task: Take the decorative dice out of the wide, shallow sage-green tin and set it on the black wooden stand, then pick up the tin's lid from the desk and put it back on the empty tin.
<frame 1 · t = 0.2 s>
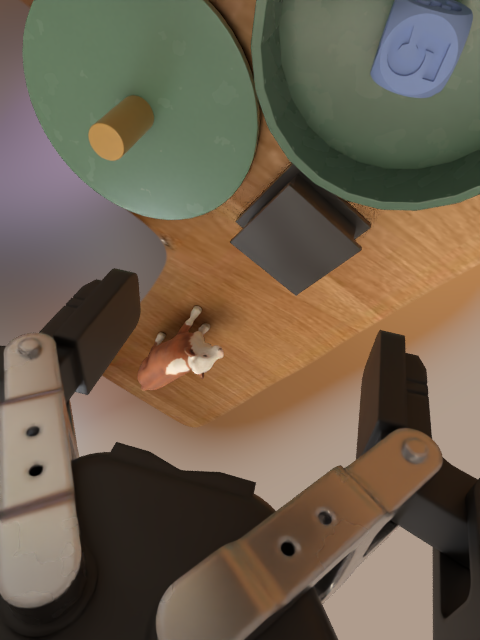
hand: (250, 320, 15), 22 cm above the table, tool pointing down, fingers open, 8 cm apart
stand: (301, 221, 37), on the table
decorative dice: (418, 34, 26), resting on tin
tin lid: (141, 110, 34), point 1 cm above the table
bull figurine: (193, 324, 51), on the table
tin: (418, 33, 26), on the table
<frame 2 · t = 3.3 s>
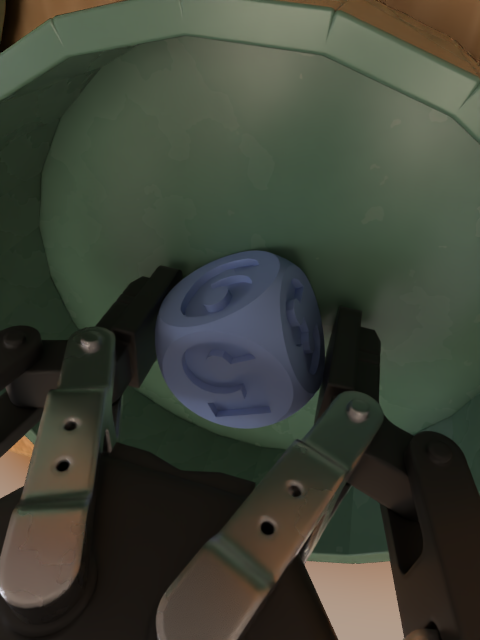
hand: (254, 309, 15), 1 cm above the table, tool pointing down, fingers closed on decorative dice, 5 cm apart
decorative dice: (260, 297, 16), resting on tin, touching gripper
tin: (260, 296, 16), on the table
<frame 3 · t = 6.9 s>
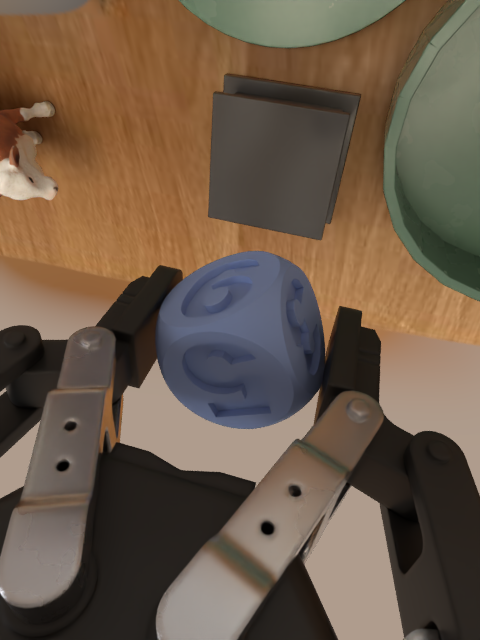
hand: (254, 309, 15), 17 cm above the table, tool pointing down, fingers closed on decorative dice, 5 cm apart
stand: (282, 152, 29), on the table
decorative dice: (260, 298, 16), point 16 cm above the table, touching gripper
bull figurine: (17, 118, 32), on the table
when the fingers open (4 cm above the table, at t = 10.3 s): decorative dice stays where it is, resting on stand.
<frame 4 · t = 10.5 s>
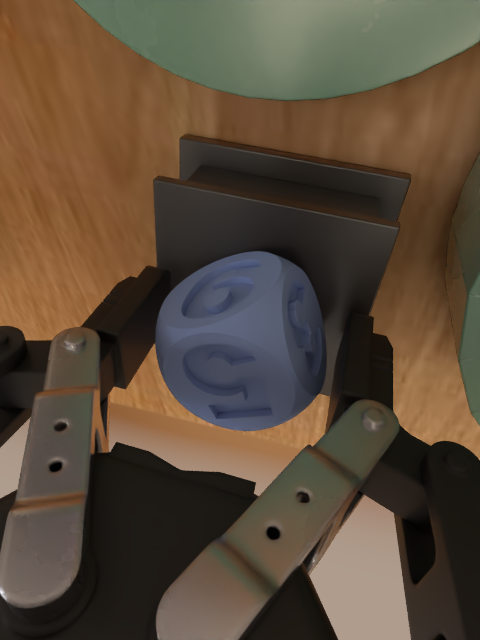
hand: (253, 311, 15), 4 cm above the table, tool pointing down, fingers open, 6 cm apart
stand: (277, 252, 18), on the table
decorative dice: (261, 298, 15), point 3 cm above the table, touching stand
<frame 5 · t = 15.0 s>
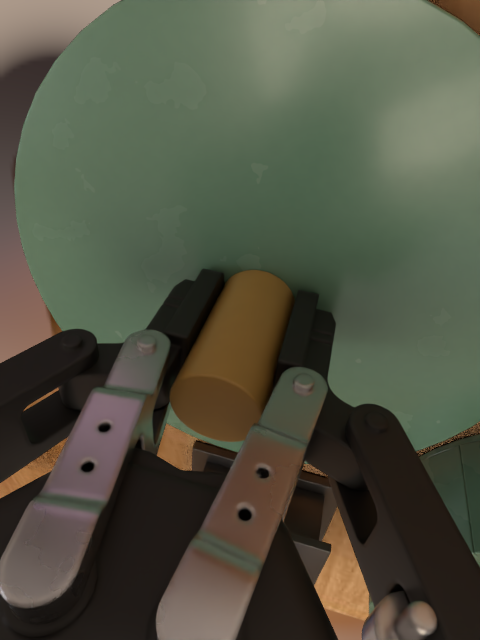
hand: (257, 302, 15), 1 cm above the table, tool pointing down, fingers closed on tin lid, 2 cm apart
stand: (259, 499, 26), on the table
tin lid: (262, 291, 16), point 1 cm above the table, touching gripper
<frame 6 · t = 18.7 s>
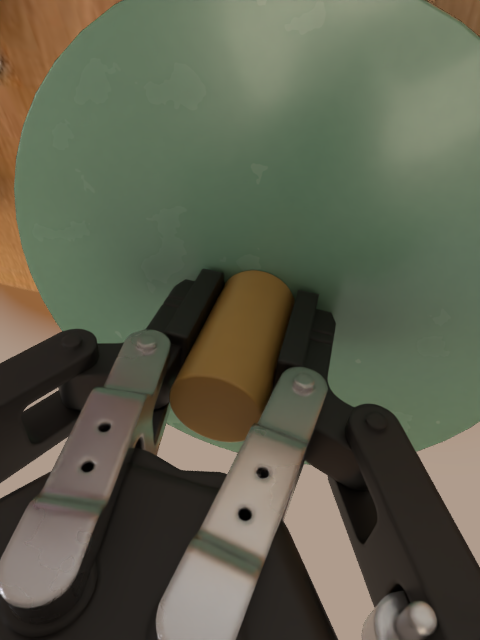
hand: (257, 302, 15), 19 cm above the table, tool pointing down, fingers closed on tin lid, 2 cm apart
tin lid: (262, 291, 16), point 18 cm above the table, touching gripper
when the fingers open (5 cm above the table, at t = 22.3 s): tin lid stays where it is, resting on tin.
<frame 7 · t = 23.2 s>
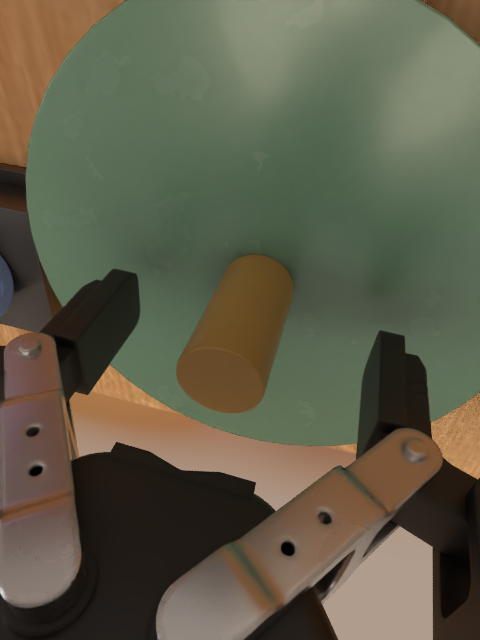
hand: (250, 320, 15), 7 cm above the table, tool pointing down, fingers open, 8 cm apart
stand: (20, 234, 25), on the table
tin lid: (262, 276, 17), point 5 cm above the table, touching tin
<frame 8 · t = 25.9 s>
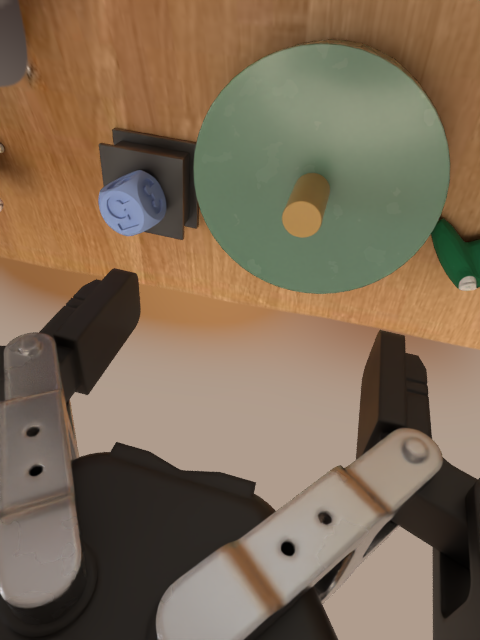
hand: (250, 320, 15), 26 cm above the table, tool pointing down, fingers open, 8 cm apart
stand: (158, 179, 41), on the table
decorative dice: (144, 193, 39), point 3 cm above the table, touching stand
tin lid: (313, 186, 33), point 5 cm above the table, touching tin
tin: (321, 164, 37), on the table
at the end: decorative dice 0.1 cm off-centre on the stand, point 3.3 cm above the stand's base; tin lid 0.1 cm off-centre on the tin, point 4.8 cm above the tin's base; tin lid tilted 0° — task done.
